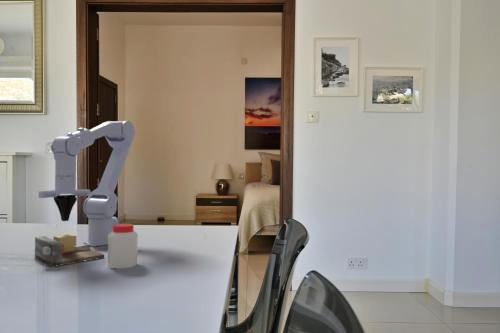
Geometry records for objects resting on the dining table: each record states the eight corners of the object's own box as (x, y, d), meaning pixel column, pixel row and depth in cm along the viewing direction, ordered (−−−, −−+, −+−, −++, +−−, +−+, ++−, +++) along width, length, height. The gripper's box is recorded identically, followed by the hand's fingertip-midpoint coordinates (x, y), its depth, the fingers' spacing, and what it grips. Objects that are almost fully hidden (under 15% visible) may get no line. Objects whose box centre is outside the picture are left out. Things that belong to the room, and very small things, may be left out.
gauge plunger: (60, 252, 109) (60, 243, 109) (63, 253, 107) (64, 244, 107) (42, 254, 105) (42, 245, 105) (45, 256, 104) (46, 247, 104)
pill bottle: (142, 263, 110) (143, 224, 110) (125, 270, 103) (126, 228, 103) (119, 260, 113) (120, 222, 113) (101, 267, 106) (101, 226, 105)
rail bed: (84, 250, 124) (85, 231, 124) (104, 257, 115) (104, 237, 115) (34, 257, 113) (35, 237, 113) (52, 266, 105) (52, 244, 105)
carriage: (70, 248, 119) (70, 233, 119) (76, 250, 117) (76, 235, 117) (53, 250, 116) (53, 235, 116) (58, 252, 113) (58, 238, 113)
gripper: (83, 175, 128) (82, 216, 128) (35, 175, 117) (34, 221, 117) (93, 176, 123) (92, 219, 123) (43, 176, 112) (43, 224, 113)
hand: (64, 220), depth 120 cm, fingers closed
